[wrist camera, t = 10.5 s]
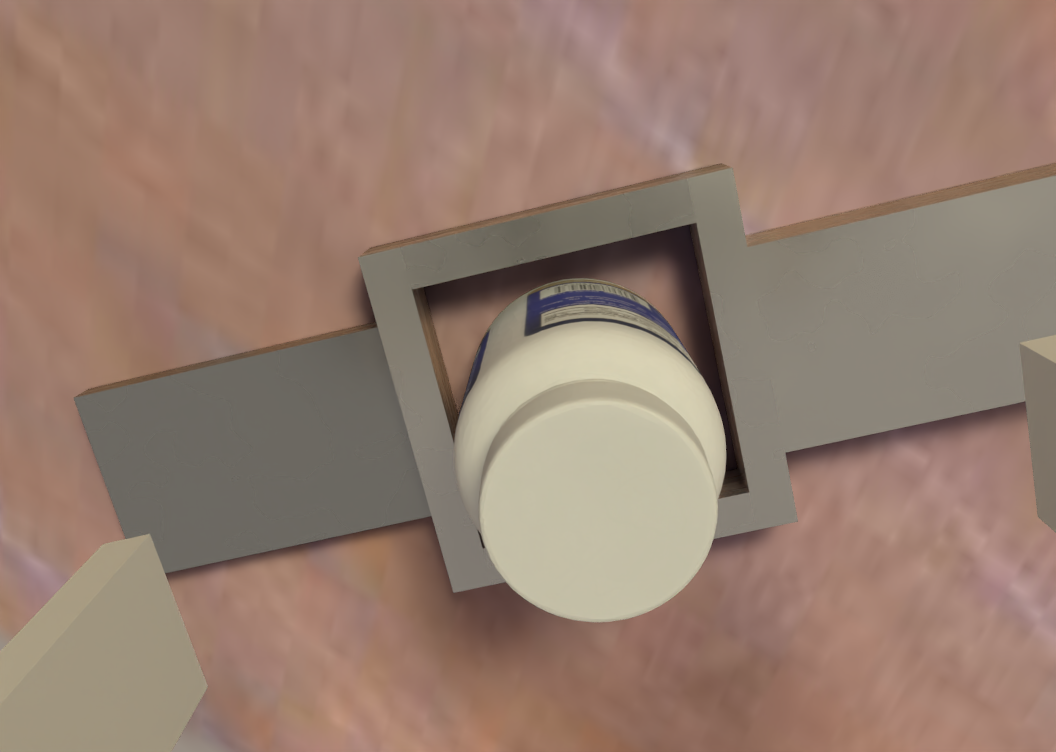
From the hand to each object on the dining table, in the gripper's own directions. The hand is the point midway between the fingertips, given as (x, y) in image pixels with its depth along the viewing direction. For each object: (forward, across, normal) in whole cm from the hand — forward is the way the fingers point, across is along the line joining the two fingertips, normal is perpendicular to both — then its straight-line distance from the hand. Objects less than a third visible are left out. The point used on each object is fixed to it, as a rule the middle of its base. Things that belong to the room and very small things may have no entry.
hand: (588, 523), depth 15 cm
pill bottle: (+10, 0, -1) cm, 11 cm away
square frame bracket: (+10, 0, -1) cm, 10 cm away
